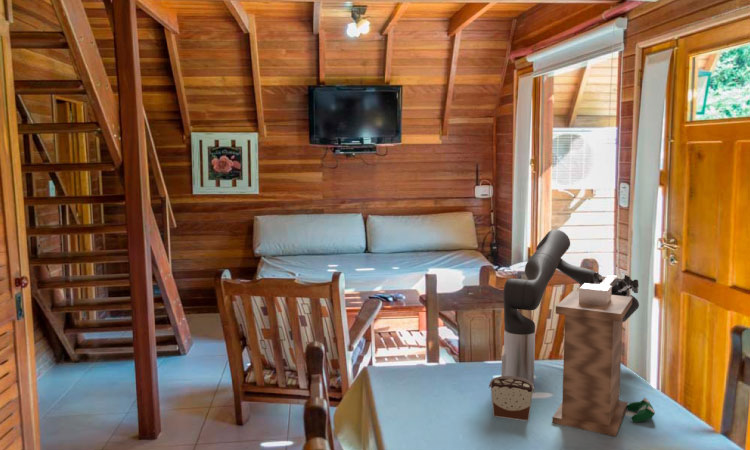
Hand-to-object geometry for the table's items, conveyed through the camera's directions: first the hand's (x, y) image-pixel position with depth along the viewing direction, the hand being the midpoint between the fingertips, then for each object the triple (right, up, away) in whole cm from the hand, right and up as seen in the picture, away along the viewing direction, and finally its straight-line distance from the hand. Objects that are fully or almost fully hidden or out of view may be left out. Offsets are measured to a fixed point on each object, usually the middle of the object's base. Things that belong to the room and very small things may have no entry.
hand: (610, 276), depth 184 cm
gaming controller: (+1, -37, -17) cm, 41 cm away
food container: (-33, -37, -15) cm, 52 cm away
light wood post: (-6, -4, -10) cm, 12 cm away
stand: (-12, -37, -16) cm, 42 cm away
